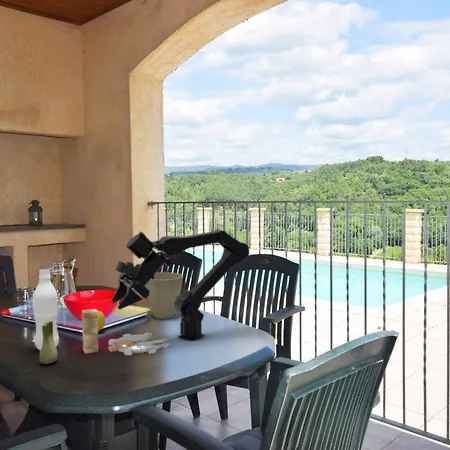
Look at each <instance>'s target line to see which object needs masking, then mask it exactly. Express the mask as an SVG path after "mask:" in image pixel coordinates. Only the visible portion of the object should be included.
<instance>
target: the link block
mask: <svg viewBox="0 0 450 450" xmlns="http://www.w3.org/2000/svg"><path fill="white" fill-rule="evenodd" d="M96 310H97V309H96V308H92V309H91V308H90V309H82V310H81V324H82V326H81V328H82V351H83V352H84V354H91V353H98V352H99V332H98V314H97V311H96Z"/></svg>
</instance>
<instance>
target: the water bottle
mask: <svg viewBox="0 0 450 450" xmlns="http://www.w3.org/2000/svg"><path fill="white" fill-rule="evenodd" d="M50 271H51V270H50V269H49V268H44V269H43V268H41V269H39V271H38V272H39V276H38V279H39V280H38V284H37V285H36V287H35V290H34V292H33V294H32V295H33V296H32V299H33V315H34V319H35V337H34V345H35V347H36V348H37V349H38V350H39V352H40V351H41V348H42V344H43V331H42V325H44V324H45V323H46V322H49V321H53V340H54V343H55V346H56V348H57V347H58V345H59V341H60V337H59V332H58V326H57V320H58V319H57V316H58V312H59V309H58V292H57V290H56V288H55V286H54V284H53V283H52V281H51V274H50Z"/></svg>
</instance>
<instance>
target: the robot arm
mask: <svg viewBox="0 0 450 450" xmlns="http://www.w3.org/2000/svg"><path fill="white" fill-rule="evenodd" d="M217 243H218V244H219V245H220V246H221V248H223V249H224V250H223V253H222V254H221V257H220V259H219V261H217V263H215V265H214V266H212V267H211V269H210V270H209V271H208V272H207V273H206V274H205V275H204V276H203V277H202V278H201V279H200V281H199V282H197V283H196V285H195V286H194V287H193V288H191V289H189V290H188V289H186V288H183V289H182V290H181V293H180V295H179V296H177V297H176V298H177V299H176V301H175V310H176V311H175V312H177V313H178V314H179V316H180V318H181V319H180V323H179V325H180V326H179V327H180V334H179V335H178V338H179V339H185V340H189V341H196V340H198V339H200V338H203V337H205V334H204V333H203V332H202V326H203V325H202V322H203V319H204V317H205V315H204V313H203V312H201V311H200V310H199V309H200V307H201V305H202V303H203V299H204V298H205V296H207V295H208V293H210V291H211V290H212V289H213V288H214V287H215V286H216V285H217V284H218V282H220V280H221V279H222V278H224V276H225V275H226V274H227V273H228V271H229V270H230V269H232V268H233V267H235V266H236V265H238V264H240V263H242V262H244V261H245V259H247V258H249V256H250V248H249V245H248V244H246V243H245V242H241V241H239V240H237V239H236V238H234V237H233V236H232V235H230V234H229V233H227V231H225V230H221V229H216V230H213V231H209V232H203V233H196V234H191V235H185V236H178V235H177V236H176V235H165V236H162V237H160V239H159V240H155V241H151V240H150V239H149V238H148V237H147V236H146V234H144V232H143V231H139V232H138V233H137V234H136V235H134V236H133V237H131V238H130V239H129V240H128V241H127V243H126V244H125V248H126V249H127V250H129V252H131V253H132V254H133V255H134V256H135V257H136V258H137V259H138V260H139V259H140V260H141V259H144V260H142V262H141V263H136V264H135V266H134V263H133V262H130V261H127V262H124V261H122V260H118V262H117V264H116V267H115V271H117V272H118V273H120V274H119V275H118V279H117V281H118V287H117V289H116V291H115V293H114V295H113V297H112V298H111V303H112V304H116V303H117V302H119V301H120V300H121V301H120V302H119V304H118V305H117V309H118V310H119V311H121V310H123V309H124V308H127V307H129V306H131V305H133V304H136V303H138V302H140V301H143V300H146V299H148V296H149V295H150V294H149V290H148V289H147V288H146V286H145V285H146V284H147V283H148V282H149V281H150V280H151V279H152V280H153V279H154V278H155V277H154V275H155V274H156V273H159V270H161V268H162V267H163V266H164V265H165V266H166V267H168V268H170V267H172V264H171V260H172V259H171V257H166V256H165V255H167V256H176V255H178V254H180V253H183V252H185V251H187V250H188V249H191V248H199V247H202V246H203V247H204V246H208V245H212V244H217ZM155 250H157V251H159V252H156V251H155ZM162 253H163V254H165V255H163V254H162Z"/></svg>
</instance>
